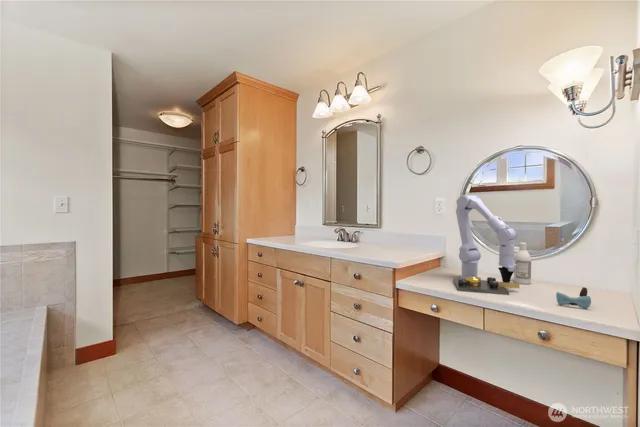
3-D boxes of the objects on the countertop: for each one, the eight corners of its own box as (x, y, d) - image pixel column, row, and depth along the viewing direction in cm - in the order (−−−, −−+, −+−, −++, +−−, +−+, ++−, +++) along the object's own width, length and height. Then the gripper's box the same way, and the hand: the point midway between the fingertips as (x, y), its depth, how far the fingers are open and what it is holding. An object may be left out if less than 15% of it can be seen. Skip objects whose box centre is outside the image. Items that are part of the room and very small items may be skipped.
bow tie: (556, 305, 113) (556, 292, 113) (555, 304, 114) (556, 291, 114) (591, 310, 107) (591, 297, 107) (590, 309, 108) (590, 296, 108)
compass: (562, 299, 120) (563, 281, 120) (588, 304, 113) (588, 286, 113) (555, 302, 116) (556, 284, 115) (581, 309, 109) (581, 289, 109)
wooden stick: (490, 287, 131) (490, 282, 131) (488, 284, 135) (488, 280, 135) (520, 289, 128) (520, 284, 128) (517, 286, 131) (517, 282, 131)
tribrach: (453, 281, 148) (453, 271, 148) (497, 284, 142) (498, 274, 142) (458, 290, 132) (458, 280, 131) (509, 294, 126) (509, 283, 125)
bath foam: (533, 284, 141) (534, 243, 140) (517, 284, 142) (518, 243, 141) (526, 281, 148) (527, 242, 147) (511, 280, 149) (512, 241, 148)
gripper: (522, 257, 126) (521, 288, 126) (511, 252, 140) (510, 280, 140) (503, 256, 128) (503, 287, 129) (494, 251, 142) (494, 279, 142)
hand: (506, 283), depth 135 cm, fingers closed
